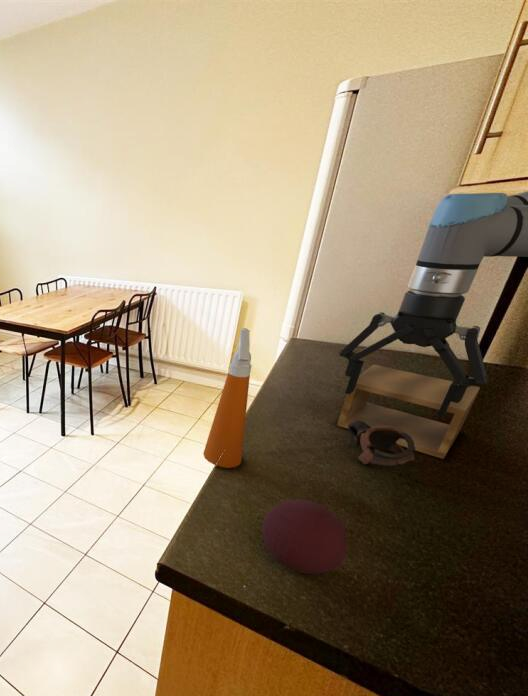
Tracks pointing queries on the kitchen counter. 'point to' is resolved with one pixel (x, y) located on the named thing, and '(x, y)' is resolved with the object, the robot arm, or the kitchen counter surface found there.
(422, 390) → the tan open box
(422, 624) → the kitchen counter surface
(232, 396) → the spray bottle
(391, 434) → the pottery mug
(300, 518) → the decorative ball
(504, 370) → the kitchen counter surface
